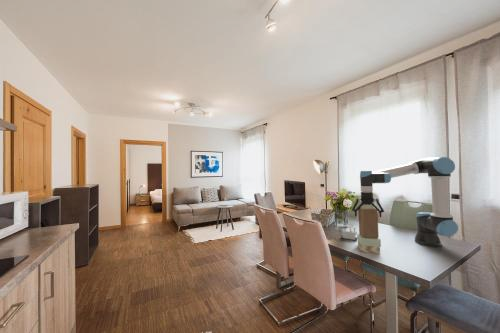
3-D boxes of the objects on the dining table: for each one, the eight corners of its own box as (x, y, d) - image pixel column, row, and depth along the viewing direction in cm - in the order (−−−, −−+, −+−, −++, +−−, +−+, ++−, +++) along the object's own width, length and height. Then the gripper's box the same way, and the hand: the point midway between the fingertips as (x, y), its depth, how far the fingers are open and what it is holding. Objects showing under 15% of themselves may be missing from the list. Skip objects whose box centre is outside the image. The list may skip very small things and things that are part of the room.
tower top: (375, 240, 150) (375, 234, 150) (380, 246, 138) (380, 239, 139) (357, 239, 153) (357, 233, 154) (361, 245, 142) (360, 238, 142)
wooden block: (379, 238, 140) (377, 209, 140) (363, 238, 142) (362, 209, 143) (373, 234, 150) (372, 207, 150) (358, 233, 152) (357, 206, 152)
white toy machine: (346, 222, 184) (360, 224, 177) (346, 233, 184) (360, 235, 177) (340, 227, 170) (355, 229, 163) (341, 239, 170) (356, 241, 163)
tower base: (376, 247, 150) (376, 240, 150) (380, 254, 138) (379, 246, 138) (358, 246, 154) (357, 239, 154) (360, 252, 143) (360, 245, 143)
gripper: (385, 191, 146) (386, 221, 145) (347, 191, 155) (348, 219, 154) (388, 192, 139) (389, 223, 138) (348, 192, 148) (349, 221, 148)
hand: (368, 221), depth 146 cm, fingers open, 13 cm apart
